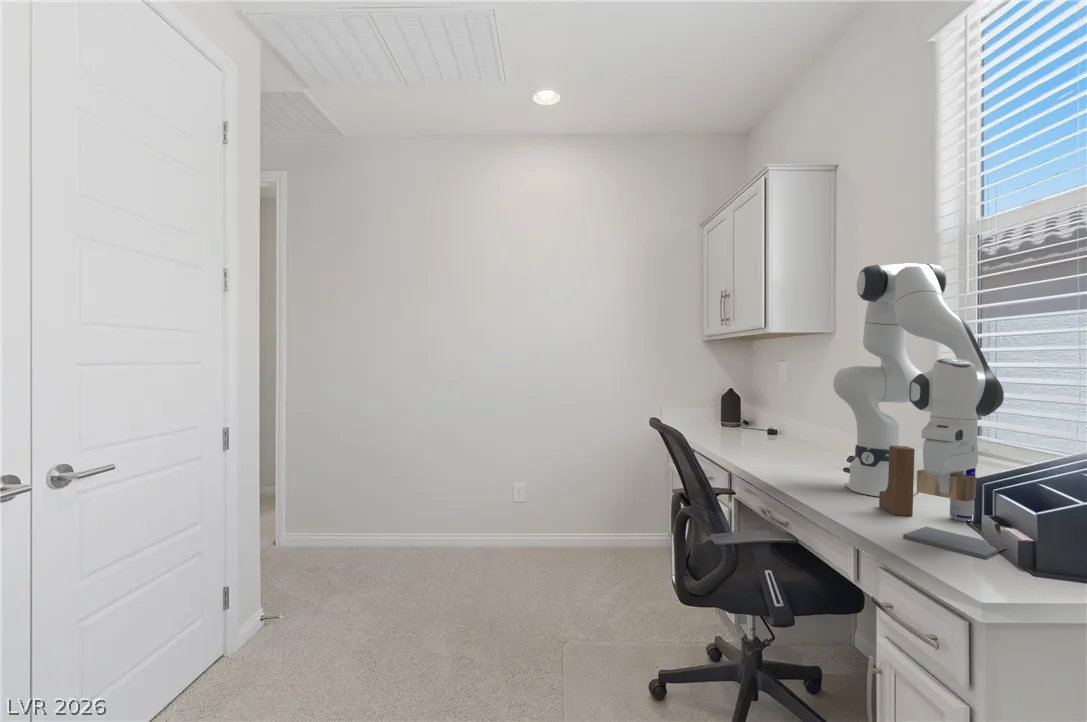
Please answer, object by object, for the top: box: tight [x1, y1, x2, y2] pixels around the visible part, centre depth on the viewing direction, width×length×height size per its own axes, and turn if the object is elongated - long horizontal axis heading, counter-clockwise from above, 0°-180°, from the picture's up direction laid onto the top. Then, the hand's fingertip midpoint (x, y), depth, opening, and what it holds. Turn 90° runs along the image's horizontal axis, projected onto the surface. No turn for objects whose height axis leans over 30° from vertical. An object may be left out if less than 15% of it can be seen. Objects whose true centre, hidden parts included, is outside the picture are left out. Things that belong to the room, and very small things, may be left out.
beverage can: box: [949, 467, 977, 523], centre depth 150 cm, size 5×5×15 cm
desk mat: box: [902, 526, 999, 560], centre depth 130 cm, size 12×16×1 cm
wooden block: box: [878, 445, 915, 517], centre depth 156 cm, size 9×4×18 cm, turn 175°
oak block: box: [916, 468, 977, 502], centre depth 132 cm, size 5×5×10 cm
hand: (951, 490), depth 131 cm, fingers closed on oak block, 5 cm apart
